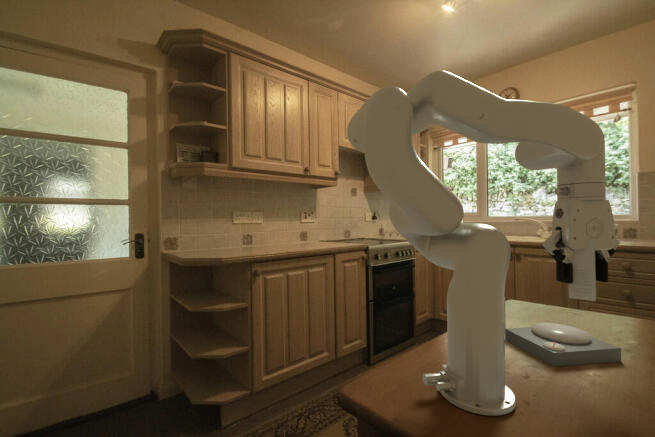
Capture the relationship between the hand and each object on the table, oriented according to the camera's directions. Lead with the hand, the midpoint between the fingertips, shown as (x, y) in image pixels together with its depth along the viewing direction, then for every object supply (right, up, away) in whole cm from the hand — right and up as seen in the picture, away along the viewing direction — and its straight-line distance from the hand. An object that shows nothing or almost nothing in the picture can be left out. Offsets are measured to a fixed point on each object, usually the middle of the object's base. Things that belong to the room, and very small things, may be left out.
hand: (581, 280), depth 61 cm
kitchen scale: (+5, -20, +14) cm, 25 cm away
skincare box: (0, -3, 0) cm, 3 cm away
